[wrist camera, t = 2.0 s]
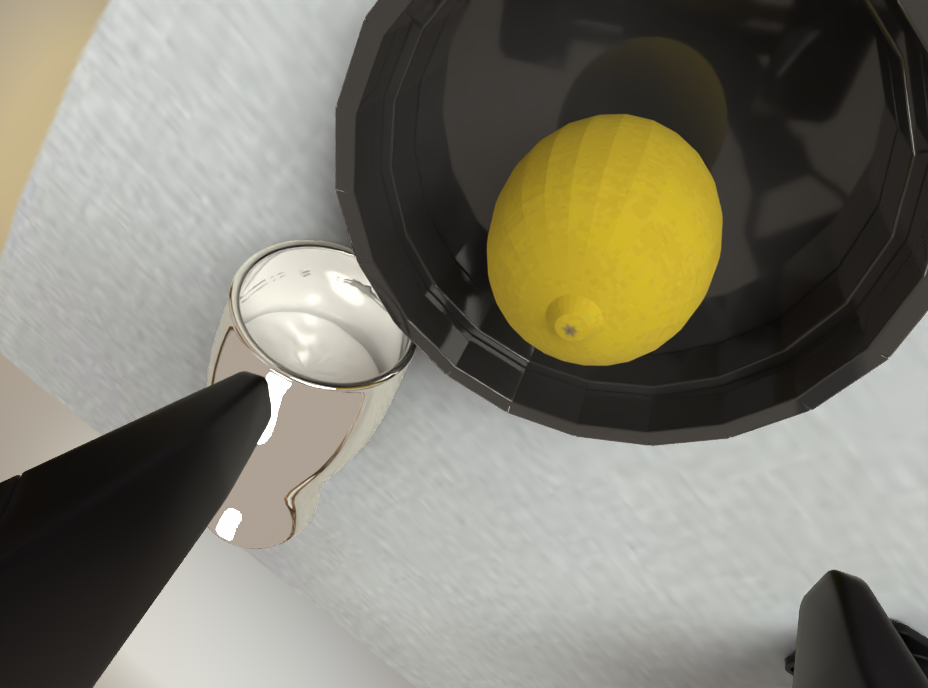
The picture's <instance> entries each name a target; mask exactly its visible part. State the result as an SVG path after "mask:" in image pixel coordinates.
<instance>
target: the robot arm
mask: <svg viewBox="0 0 928 688" xmlns="http://www.w3.org/2000/svg"><path fill="white" fill-rule="evenodd" d="M271 416H272V405H271V399H270V392H269V385H268V381H267V380H266V378H265V377H263V376H260V375H257V374H254V373H251V372H248V371H242V372H238V373H236V374H234V375H232V376H230V377H227V378H225V379H223V380H221V381H219V382H217V383H215V384H212V385H210V386H208V387H206V388H204V389H202V390H199V391H197V392H195V393H193V394H191V395H189V396H187V397H184V398H182V399H180V400H178V401H176V402H174V403H171V404H169V405H167V406H165V407H163V408H161V409H159V410H156V411H154V412H152V413H150V414H148V415H146V416H143V417H141V418H139V419H137V420H135V421H133V422H131V423H128V424H126V425H124V426H122V427H120V428H118V429H115V430H113V431H111V432H109V433H107V434H105V435H103V436H100V437H98V438H96V439H94V440H92V441H90V442H88V443H86V444H83V445H81V446H79V447H77V448H75V449H73V450H70V451H68V452H66V453H64V454H62V455H60V456H58V457H55V458H53V459H51V460H49V461H47V462H44V463H42V464H40V465H38V466H36V467H34V468H32V469H29V470H27V471H25V472H24V473H22V476H20V475H16V476H14V477H12V478H10V479H8V480H5V481H3V482H1V483H0V688H93V686H94V685H95V683H96V682H97V681H98V679H99V678H100V677H101V675H102V674H103V672H104V671H105V670H106V668H107V667H108V665H109V664H110V662H111V661H112V660H113V658H114V657H115V655H116V654H117V652H118V651H119V650H120V648H121V647H122V646H123V644H124V643H125V641H126V640H127V638H128V637H129V636H130V634H131V633H132V631H133V630H134V629H135V627H136V626H137V624H138V623H139V622H140V620H141V619H142V617H143V616H144V615H145V613H146V612H147V610H148V609H149V608H150V606H151V605H152V603H153V602H154V600H155V599H156V598H157V596H158V595H159V593H160V592H161V590H162V589H163V588H164V586H165V585H166V584H167V582H168V581H169V579H170V578H171V577H172V575H173V574H174V572H175V571H176V570H177V568H178V567H179V565H180V564H181V563H182V561H183V560H184V558H185V557H186V555H187V554H188V552H189V551H190V550H191V548H192V547H193V546H194V544H195V543H196V541H197V540H198V539H199V537H200V536H201V534H202V533H203V532H204V530H205V529H206V527H207V526H208V525H209V523H210V522H211V520H212V519H213V518H214V516H215V515H216V513H217V512H218V510H219V509H220V508H221V506H222V505H223V503H224V502H225V500H226V499H227V497H228V495H229V494H230V492H231V490H232V489H233V487H234V485H235V483H236V482H237V480H238V478H239V476H240V474H241V473H242V471H243V469H244V467H245V465H246V464H247V462H248V460H249V458H250V457H251V455H252V453H253V451H254V449H255V448H256V446H257V444H258V442H259V440H260V439H261V437H262V435H263V433H264V431H265V430H266V428H267V426H268V424H269V422H270V419H271ZM785 669H786V671H787V672H788V673H790V674H792V675H793V676H794V678H793V688H928V639H927V638H926V637H924V636H923V635H921V634H919V633H918V632H916V631H914V630H913V629H911V628H910V627H908V626H906V625H904V624H902V623H897V622H891V621H890V619H889V618H888V616H887V615H886V613H885V611H884V610H883V608H882V607H881V605H880V603H879V602H878V600H877V599H876V597H875V596H874V594H873V592H872V591H871V589H870V588H869V586H868V585H867V584H866V583H865V582H864V581H863V580H862V579H860V578H858V577H856V576H853V575H850V574H847V573H844V572H841V571H838V570H831V571H828V572H827V573H826V574H825V575H824V576H823V577H822V578H821V579H820V580H819V581H818V582H817V583H816V584H815V585H814V586H813V587H812V588H811V590H810V591H809V592H808V593H807V594H806V595H805V596H804V598H803V600H802V602H801V605H800V610H799V620H798V631H797V643H796V654H795V655H792V656H789V657H787V658H785Z"/></svg>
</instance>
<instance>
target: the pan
mask: <svg viewBox="0 0 928 688" xmlns="http://www.w3.org/2000/svg"><path fill="white" fill-rule="evenodd" d="M605 114H629V115H633V116H638V117H642V118H646V119H650V120H654V121H656V122H657V123H659V124H661V125H663V126H665V127H667V128H669V129H671V130H672V131H674V132H676V133H677V134H679V135H680V136H681V137H682V138H683V139H684V140H685V141H686V142H687V143H688V144H689V145H690V146H691V147H692V148H693V149H695V150H696V151H697V153H698V154H699V155H700V157H701V159H702V160H703V162H704V164H705V165H706V167H707V169H708V170H709V172H710V174H711V175H712V177H713V179H714V181H715V185H716V189H717V193H718V197H719V202H720V206H721V210H722V217H723V224H722V241H721V253H720V258H719V261H718V264H717V267H716V270H715V272H714V275H713V278H712V280H711V283H710V286H709V289H708V291H707V293H706V295H705V297H704V299H703V300H702V302H701V304H700V305H699V306H698V308H697V309H696V310H695V312H694V313H693V314H692V316H691V317H690V318H689V320H688V321H687V322H686V324H685V325H684V326H683V327H682V329H681V330H680V331H679V332H678V333H677V334H675V335H674V336H673V337H672V338H670V339H669V340H668V341H666V342H665V343H664V344H663V345H661V346H660V347H659V348H657V349H656V350H654V351H652V352H650V353H647V354H645V355H643V356H640V357H638V358H636V359H634V360H631V361H629V362H624V363H619V364H613V365H608V366H595V365H580V364H575V363H570V362H565V361H562V360H559V359H557V358H555V357H552V356H550V355H547V354H545V353H543V352H542V351H540V350H539V349H537V348H536V347H534V346H533V345H531V344H530V343H528V342H527V341H525V340H524V339H523V338H522V337H521V336H520V335H519V334H518V333H517V332H516V331H515V330H514V329H513V328H512V327H511V326H510V324H509V323H508V321H507V320H506V318H505V316H504V315H503V313H502V312H501V310H500V308H499V307H498V305H497V303H496V300H495V297H494V294H493V291H492V288H491V285H490V281H489V276H488V263H487V240H488V234H489V229H490V225H491V221H492V217H493V212H494V208H495V204H496V201H497V199H498V196H499V195H500V193H501V191H502V189H503V187H504V186H505V184H506V182H507V180H508V178H509V177H510V175H511V173H512V171H513V169H514V168H515V167H516V165H517V164H518V163H519V162H520V161H521V160H522V159H523V158H524V157H525V156H526V154H527V153H528V152H529V151H530V150H531V149H532V148H533V147H534V146H535V145H536V144H537V143H538V142H539V141H541V140H542V139H543V138H545V137H546V136H548V135H550V134H552V133H553V132H555V131H557V130H558V129H560V128H562V127H564V126H565V125H567V124H569V123H571V122H575V121H578V120H582V119H585V118H589V117H593V116H596V115H605ZM336 193H337V196H338V199H339V203H340V206H341V210H342V213H343V216H344V220H345V223H346V226H347V230H348V233H349V237H350V240H351V243H352V247H353V250H354V253H355V257H356V260H357V263H359V267H360V268H361V270H362V271H363V273H364V275H365V276H366V278H367V280H368V281H369V283H370V284H371V286H372V288H373V289H374V291H375V293H376V294H377V296H378V297H379V299H380V301H381V302H382V304H383V306H384V307H385V309H386V311H387V312H388V314H389V315H390V317H391V319H392V320H393V322H394V324H395V325H397V327H398V328H399V329H400V330H401V331H402V332H403V333H404V334H405V335H406V336H407V337H408V338H409V339H410V340H411V341H412V342H413V343H414V344H415V345H416V346H417V347H418V348H419V349H420V350H421V351H422V352H423V353H424V354H425V355H426V356H427V357H428V358H429V359H430V360H431V361H432V362H433V363H434V364H435V365H436V366H437V367H439V368H440V369H441V370H442V371H443V372H444V373H445V374H447V376H449V377H450V378H452V379H453V380H455V381H457V382H458V383H460V384H461V385H463V386H465V387H466V388H468V389H470V390H471V391H473V392H474V393H476V394H478V395H479V396H481V397H483V398H484V399H486V400H487V401H489V402H491V403H492V404H494V405H496V406H497V407H499V408H500V409H502V410H504V411H507V412H508V413H510V414H513V415H515V416H518V417H521V418H524V419H527V420H530V421H533V422H535V423H538V424H541V425H544V426H547V427H550V428H553V429H555V430H558V431H561V432H564V433H567V434H570V435H573V436H577V437H584V438H592V439H600V440H608V441H616V442H624V443H632V444H640V445H651V446H655V445H665V444H675V443H686V442H696V441H707V440H717V439H728V438H730V437H734V436H737V435H740V434H743V433H746V432H749V431H752V430H755V429H758V428H761V427H764V426H767V425H769V424H772V423H775V422H778V421H781V420H784V419H787V418H790V417H793V416H796V415H799V414H802V413H805V412H808V411H810V409H811V410H813V409H815V408H816V407H818V406H819V405H821V404H822V403H824V402H825V401H827V400H828V399H830V398H831V397H833V396H834V395H836V394H837V393H839V392H840V391H842V390H843V389H845V388H846V387H848V386H849V385H851V384H852V383H854V382H855V381H857V380H858V379H860V378H861V377H863V376H864V375H866V374H867V373H869V372H870V371H872V370H873V369H875V368H876V367H878V366H879V365H881V364H882V363H884V362H885V361H887V360H888V357H891V355H892V354H893V353H894V352H895V350H896V349H897V348H898V347H899V346H900V344H901V343H902V342H903V341H904V339H905V338H906V337H907V336H908V334H909V333H910V332H911V331H912V330H913V328H914V327H915V326H916V325H917V323H918V322H919V321H920V320H921V319H922V317H923V316H924V315H925V314H926V312H927V311H928V0H377V2H376V3H375V4H374V6H373V7H372V8H371V10H370V11H369V12H368V14H367V15H366V17H365V20H364V22H363V25H362V28H361V31H360V34H359V37H358V40H357V43H356V46H355V50H354V53H353V56H352V59H351V62H350V65H349V68H348V71H347V74H346V77H345V81H344V84H343V87H342V90H341V93H340V96H339V99H338V102H337V107H336Z"/></svg>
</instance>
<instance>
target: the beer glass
mask: <svg viewBox="0 0 928 688" xmlns="http://www.w3.org/2000/svg"><path fill="white" fill-rule="evenodd" d="M416 350H417V346H416V345H415V344H414V343H413V342H412V341H411V340H410V339H409V338H408V337H407V336H406V335H405V334H404V333H403V332H402V331H401V330H400V329H399V328H398V327H397V325H395V324H394V322H393V320H392V319H391V317H390V315H389V314H388V312H387V311H386V309H385V307H384V306H383V304H382V302H381V301H380V299H379V297H378V296H377V294H376V293H375V291H374V289H373V288H372V286H371V284H370V283H369V281H368V280H367V278H366V276H365V275H364V273H363V271H362V270H361V268H360V267H359V263H357V260H356V257H355V253H354V250H353V249H351V248H348V247H345V246H342V245H339V244H335V243H330V242H325V241H318V240H293V241H286V242H282V243H278V244H274V245H271V246H269V247H266V248H264V249H262V250H260V251H258V252H257V253H255V254H254V255H252V256H251V257H250V258H248V259H247V260H246V261H245V262H244V263H243V264H242V266H241V267H240V268H239V269H238V271H237V273H236V274H235V276H234V278H233V281H232V283H231V286H230V291H229V297H228V300H227V303H226V305H225V308H224V311H223V313H222V316H221V319H220V323H219V326H218V329H217V332H216V335H215V339H214V343H213V347H212V351H211V355H210V359H209V365H208V373H207V381H206V387H208V386H210V385H212V384H215V383H217V382H219V381H221V380H223V379H225V378H227V377H230V376H232V375H234V374H236V373H238V372H242V371H248V372H251V373H254V374H257V375H260V376H263V377H265V378H266V380H267V381H268V385H269V392H270V399H271V405H272V416H271V419H270V422H269V424H268V426H267V428H266V430H265V431H264V433H263V435H262V437H261V439H260V440H259V442H258V444H257V446H256V448H255V449H254V451H253V453H252V455H251V457H250V458H249V460H248V462H247V464H246V465H245V467H244V469H243V471H242V473H241V474H240V476H239V478H238V480H237V482H236V483H235V485H234V487H233V489H232V490H231V492H230V494H229V495H228V497H227V499H226V500H225V502H224V503H223V505H222V506H221V508H220V509H219V510H218V512H217V513H216V515H215V516H214V518H213V519H212V520H211V522H210V523H209V525H208V526H207V527H208V528H209V529H210V530H211V531H212V532H213V533H214V534H215V535H217V536H218V537H219V538H221V539H222V540H224V541H226V542H228V543H230V544H233V545H236V546H239V547H243V548H250V549H262V548H269V547H274V546H277V545H280V544H282V543H285V542H287V541H288V540H290V539H292V538H294V537H295V536H296V535H298V534H299V533H300V532H301V531H302V530H303V529H304V528H305V527H306V526H307V525H308V524H309V522H310V521H311V519H312V517H313V516H314V514H315V511H316V509H317V506H318V503H319V499H320V492H321V486H322V485H323V484H324V483H325V482H326V481H327V480H329V479H330V478H331V477H332V476H333V475H334V474H336V473H337V472H338V471H339V470H340V469H341V468H342V467H344V466H345V465H346V464H347V463H348V462H349V461H350V460H351V459H352V458H353V457H354V456H355V455H356V454H357V453H358V452H359V451H360V450H361V449H362V448H363V446H364V445H365V444H366V443H367V442H368V440H369V439H370V437H371V436H372V434H373V433H374V432H375V430H376V429H377V427H378V426H379V424H380V423H381V421H382V420H383V418H384V416H385V414H386V412H387V410H388V409H389V407H390V405H391V403H392V401H393V399H394V397H395V395H396V393H397V390H398V388H399V386H400V384H401V382H402V379H403V377H404V375H405V372H406V370H407V367H408V365H409V363H410V362H411V360H412V359H413V357H414V355H415V353H416Z"/></svg>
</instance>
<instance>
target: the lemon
mask: <svg viewBox="0 0 928 688" xmlns="http://www.w3.org/2000/svg"><path fill="white" fill-rule="evenodd" d="M722 224H723V217H722V210H721V206H720V202H719V197H718V193H717V189H716V185H715V181H714V179H713V177H712V175H711V174H710V172H709V170H708V169H707V167H706V165H705V164H704V162H703V160H702V159H701V157H700V155H699V154H698V153H697V151H696V150H695V149H693V148H692V147H691V146H690V145H689V144H688V143H687V142H686V141H685V140H684V139H683V138H682V137H681V136H680V135H679V134H677V133H676V132H674V131H672V130H671V129H669V128H667V127H665V126H663V125H661V124H659V123H657V122H656V121H654V120H650V119H646V118H642V117H638V116H633V115H629V114H605V115H596V116H593V117H589V118H585V119H582V120H578V121H575V122H571V123H569V124H567V125H565V126H564V127H562V128H560V129H558V130H557V131H555V132H553V133H552V134H550V135H548V136H546V137H545V138H543V139H542V140H541V141H539V142H538V143H537V144H536V145H535V146H534V147H533V148H532V149H531V150H530V151H529V152H528V153H527V154H526V156H525V157H524V158H523V159H522V160H521V161H520V162H519V163H518V164H517V165H516V167H515V168H514V169H513V171H512V173H511V175H510V177H509V178H508V180H507V182H506V184H505V186H504V187H503V189H502V191H501V193H500V195H499V196H498V199H497V201H496V204H495V208H494V212H493V217H492V221H491V225H490V229H489V234H488V240H487V263H488V276H489V281H490V285H491V288H492V291H493V294H494V297H495V300H496V303H497V305H498V307H499V308H500V310H501V312H502V313H503V315H504V316H505V318H506V320H507V321H508V323H509V324H510V326H511V327H512V328H513V329H514V330H515V331H516V332H517V333H518V334H519V335H520V336H521V337H522V338H523V339H524V340H525V341H527V342H528V343H530V344H531V345H533V346H534V347H536V348H537V349H539V350H540V351H542V352H543V353H545V354H547V355H550V356H552V357H555V358H557V359H559V360H562V361H565V362H570V363H575V364H580V365H595V366H608V365H613V364H619V363H624V362H629V361H631V360H634V359H636V358H638V357H640V356H643V355H645V354H647V353H650V352H652V351H654V350H656V349H657V348H659V347H660V346H661V345H663V344H664V343H665V342H666V341H668V340H669V339H670V338H672V337H673V336H674V335H675V334H677V333H678V332H679V331H680V330H681V329H682V327H683V326H684V325H685V324H686V322H687V321H688V320H689V318H690V317H691V316H692V314H693V313H694V312H695V310H696V309H697V308H698V306H699V305H700V304H701V302H702V300H703V299H704V297H705V295H706V293H707V291H708V289H709V286H710V283H711V280H712V278H713V275H714V272H715V270H716V267H717V264H718V261H719V258H720V253H721V241H722Z"/></svg>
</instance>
